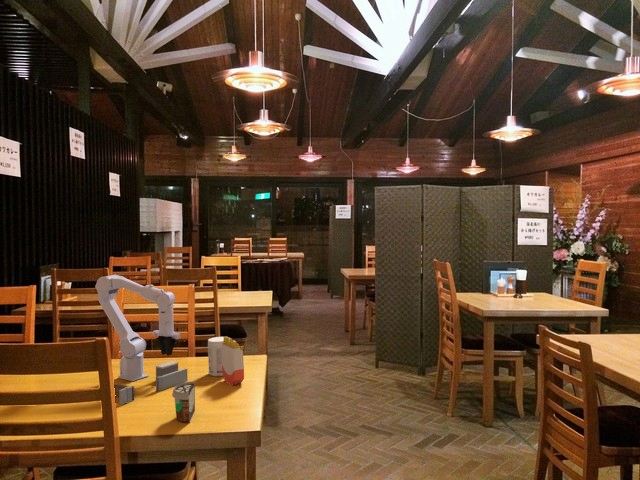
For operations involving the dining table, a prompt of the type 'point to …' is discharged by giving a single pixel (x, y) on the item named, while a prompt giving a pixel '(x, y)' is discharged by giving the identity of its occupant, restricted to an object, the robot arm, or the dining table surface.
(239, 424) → the dining table surface
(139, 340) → the robot arm
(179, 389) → the food container
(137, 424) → the dining table surface
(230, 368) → the french fries container
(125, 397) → the wall
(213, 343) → the supplement tub
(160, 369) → the block
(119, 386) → the door
